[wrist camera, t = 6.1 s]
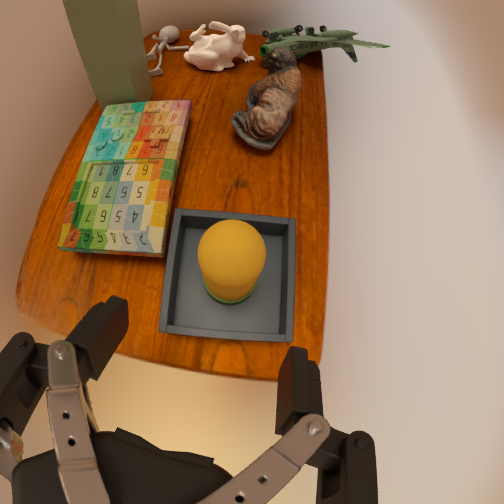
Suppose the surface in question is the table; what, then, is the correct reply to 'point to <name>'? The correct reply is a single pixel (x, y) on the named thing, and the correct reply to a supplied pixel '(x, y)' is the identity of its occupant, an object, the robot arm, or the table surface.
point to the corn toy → (231, 260)
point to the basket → (229, 316)
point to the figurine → (165, 36)
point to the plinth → (111, 49)
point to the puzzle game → (127, 180)
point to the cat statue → (270, 101)
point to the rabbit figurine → (217, 47)
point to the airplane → (313, 41)
